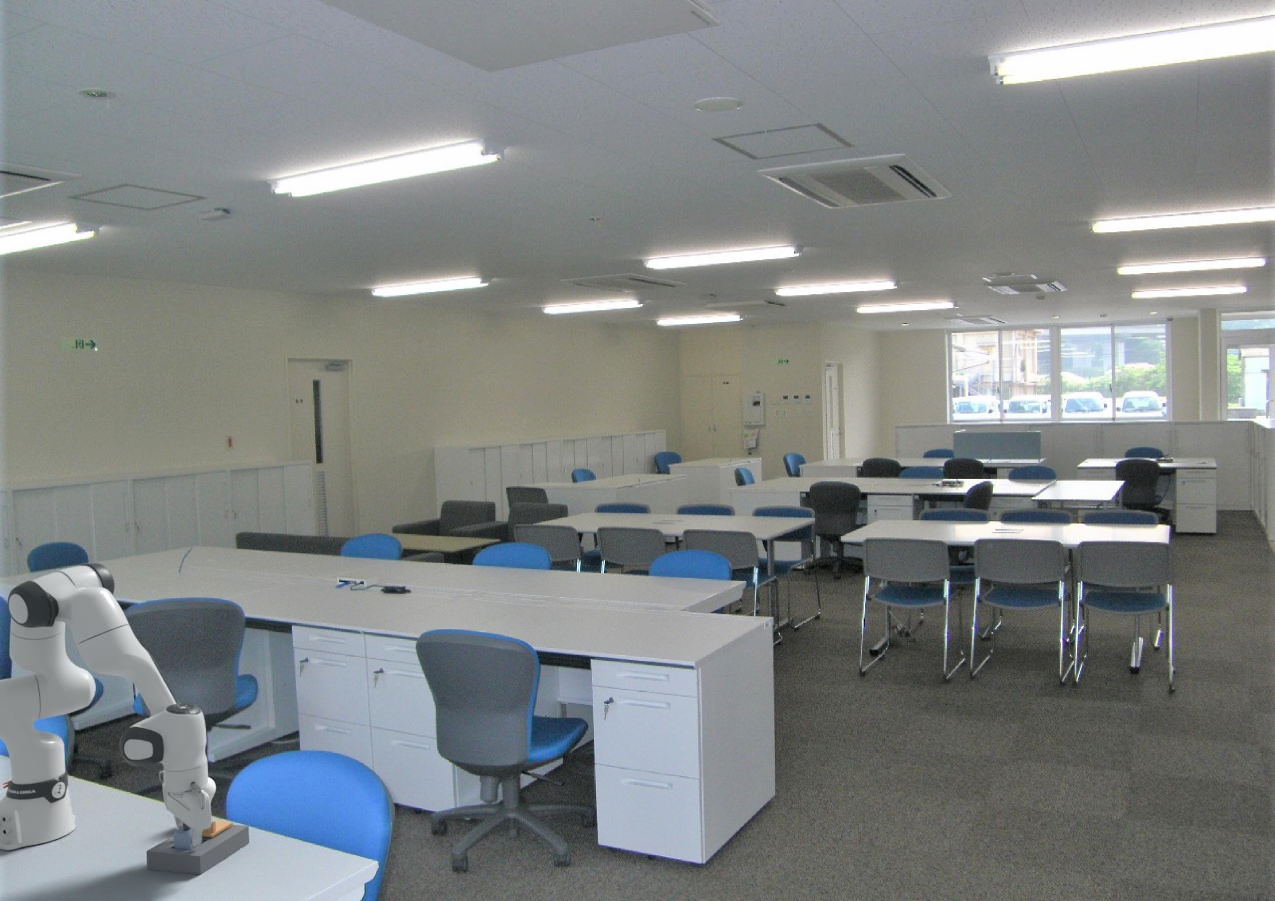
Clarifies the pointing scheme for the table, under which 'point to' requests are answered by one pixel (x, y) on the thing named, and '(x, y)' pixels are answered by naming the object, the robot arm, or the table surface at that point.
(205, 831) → the panel
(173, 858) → the socket block
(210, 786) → the lightbulb
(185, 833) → the plug
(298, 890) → the table surface
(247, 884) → the table surface
